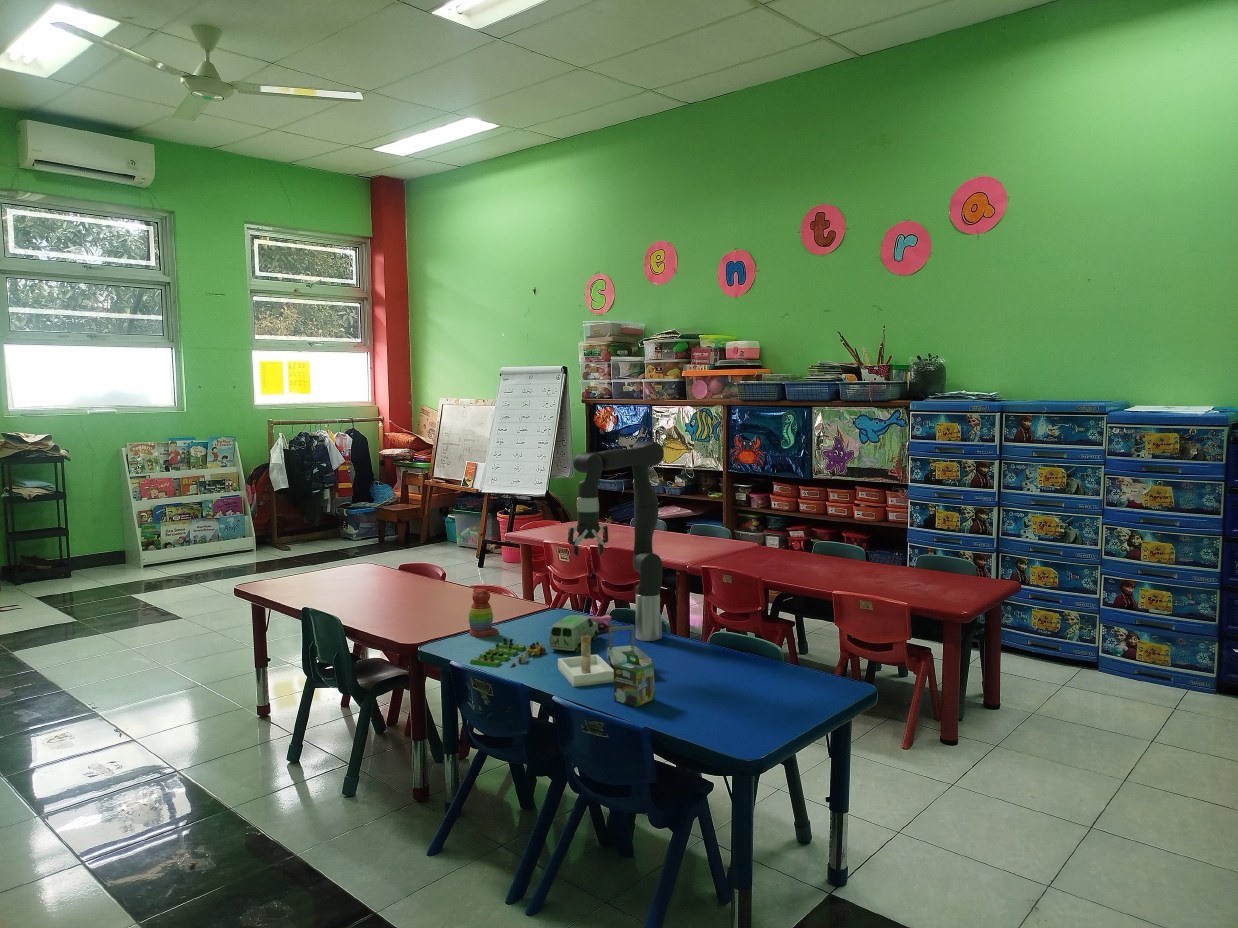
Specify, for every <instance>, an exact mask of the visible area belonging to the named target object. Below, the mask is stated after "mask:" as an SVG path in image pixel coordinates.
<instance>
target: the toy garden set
mask: <svg viewBox="0 0 1238 928" xmlns="http://www.w3.org/2000/svg"><path fill="white" fill-rule="evenodd" d="M507 641H508V639H507V638H505V637H504V638H503V642H499V643H495V647H493V646H492V647H491V648H489V649H488V650H486V651H485V652H482V653H480V654H479V656H478V657H474V658H472V659H470V661H469V664H470V665H476V666H477V665H478V666H483V667H485V666H486V667H491V668H493V667H494V668H497V667H499V666H500V665H502V662H503V663H504V662H507V661H508V660H510V659H511V658H510V657H514V656H515V655H517V654H519V652H522V651H524V650H525V651H526V652H525V653H524V654H519V655H518V657H517V658H516V659H515V661H514V662H513V663H512V664H511V666H510V668H513V667H514V666H515V665H516V663H517V661H518V664H526V663H527V658H528V655H530V656H539V655H540V654H541V655H545V654H546V650H547V649H546V648H545V647H543V645H544V644H543V643H540V642H538V641H536V642H533V643H531V644H530V645H529V646H526V645H525V644H517V643H513V641H514V639H513V638H510V639H509V642H507Z"/></svg>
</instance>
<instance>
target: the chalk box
mask: <svg viewBox="0 0 1238 928" xmlns="http://www.w3.org/2000/svg"><path fill="white" fill-rule="evenodd" d="M631 656H632V657H634V658H635V659H634V658H630V657H631ZM626 658H627V660H624V661H621V662H620V663H617V664H615V665H614V667H613V670H614V682H613V702H617V703H621V704H624V705H628V706H629V707H634V708H639V707H641V706H643V705H644V704H646V703H650V702H651V701H653V700H655V699H656V697H655V663H654V662H653V661H651V662H649V661H644V660H639V658H638V655H636V654H632V653H628V652H626Z"/></svg>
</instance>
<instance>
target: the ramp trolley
mask: <svg viewBox="0 0 1238 928" xmlns="http://www.w3.org/2000/svg"><path fill="white" fill-rule="evenodd" d="M620 626H621V625H620ZM626 630H630V631H629V632H630V634H629V635H630V636H629V637H630V641H629V642H630V645H622V646H613V632H616V631H626ZM626 652H628V653H632V654H636V655H638V658H639V660H644V661H649V662H652V658H651V657H650V656H649V655H648V654H646V653H645V652H644V651H642V650H641V649H640V648H639V647H638V646H636V645H635V625H633V624H632V625H624V626H623V625H622V626H621V627H611V628H609V632H608V647H607V648H606V660H607V664H608V665H609V666H610V667H611V668H614V665H615V664H617V663H620V662H621V661H624V660H627V658H626ZM630 658H634V657H632V656H631V657H630ZM634 659H635V658H634Z"/></svg>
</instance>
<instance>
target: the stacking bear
mask: <svg viewBox="0 0 1238 928" xmlns="http://www.w3.org/2000/svg"><path fill="white" fill-rule="evenodd" d="M472 592H473V593H472V596H471V597H472V601H473V603H472V604H471V606H470V608H469V612H468V624H469V628H470V629H469V633H468V634H469V635H470V636H472V637H474V638H475V637H476V638H479V637H481V638H482V637H490V636H494V635H497V634H499V629H498V628H497V627H493V626H492V625H493V622H494V613H493V610H492V606H491V604H490V603H489V601H490V599H491V593H490V592H489V591H488V590H487V589H486V588H476V587H475V588H474V589H473V591H472Z"/></svg>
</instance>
